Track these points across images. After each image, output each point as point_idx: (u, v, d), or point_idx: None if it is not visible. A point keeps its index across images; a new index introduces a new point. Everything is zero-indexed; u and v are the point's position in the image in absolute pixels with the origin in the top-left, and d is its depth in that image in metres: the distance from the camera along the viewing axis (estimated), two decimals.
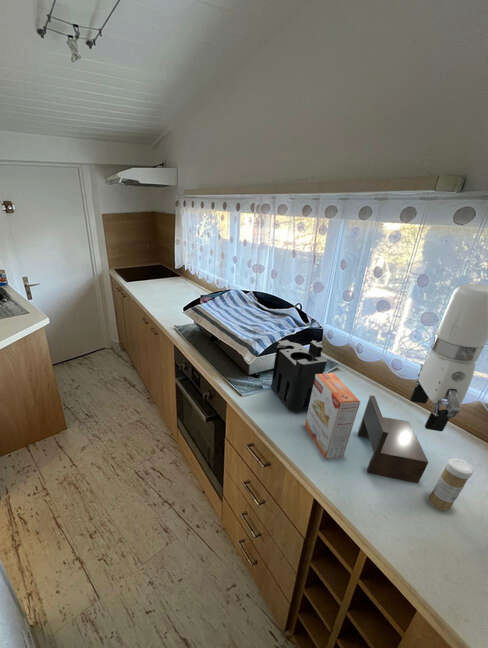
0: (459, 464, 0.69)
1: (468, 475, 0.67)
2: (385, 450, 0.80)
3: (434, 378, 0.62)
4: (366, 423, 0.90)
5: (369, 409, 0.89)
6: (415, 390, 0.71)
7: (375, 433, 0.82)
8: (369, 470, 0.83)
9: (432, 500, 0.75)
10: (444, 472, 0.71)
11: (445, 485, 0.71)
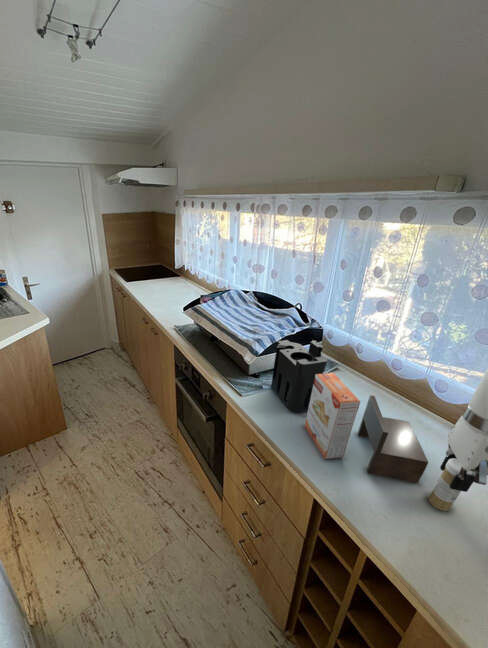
0: (459, 464, 0.69)
1: None
2: (385, 450, 0.80)
3: (466, 447, 0.64)
4: (366, 423, 0.90)
5: (369, 409, 0.89)
6: (446, 460, 0.72)
7: (375, 433, 0.82)
8: (369, 470, 0.83)
9: (432, 500, 0.75)
10: (444, 472, 0.71)
11: (445, 485, 0.71)
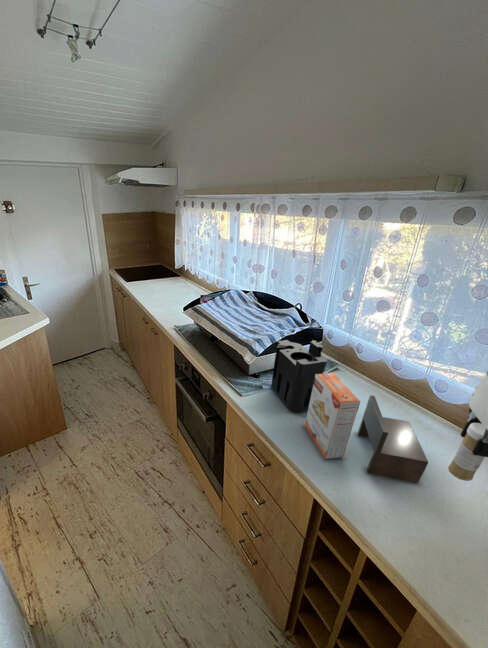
0: (482, 428, 0.64)
1: None
2: (385, 450, 0.80)
3: None
4: (366, 423, 0.90)
5: (369, 409, 0.89)
6: (467, 426, 0.67)
7: (375, 433, 0.82)
8: (369, 470, 0.83)
9: (452, 470, 0.70)
10: (465, 438, 0.66)
11: (466, 452, 0.66)
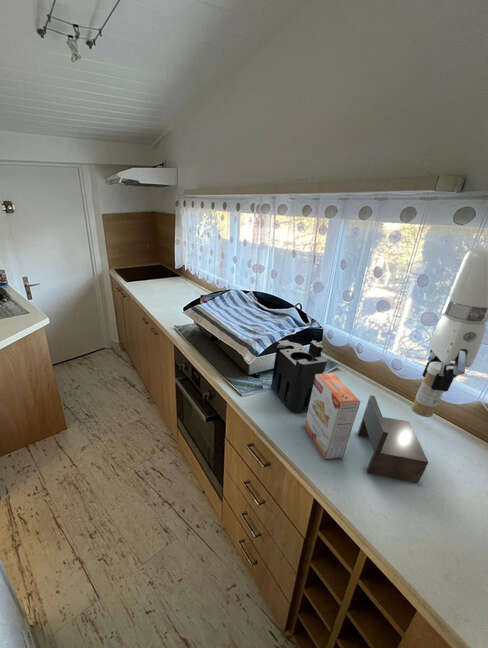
0: (440, 365, 0.70)
1: None
2: (385, 450, 0.80)
3: (446, 341, 0.65)
4: (366, 423, 0.90)
5: (369, 409, 0.89)
6: (427, 365, 0.73)
7: (375, 433, 0.82)
8: (369, 470, 0.83)
9: (415, 408, 0.75)
10: (426, 376, 0.72)
11: (426, 389, 0.72)
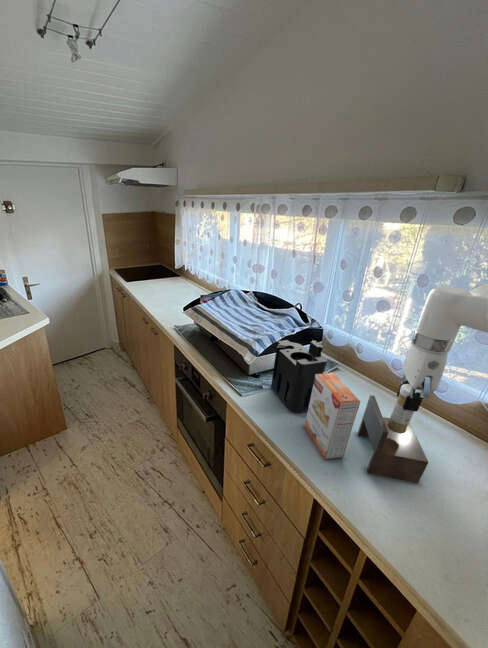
0: None
1: None
2: (385, 450, 0.80)
3: (414, 367, 0.73)
4: (366, 423, 0.90)
5: (369, 409, 0.89)
6: None
7: (375, 433, 0.82)
8: (369, 470, 0.83)
9: (389, 425, 0.83)
10: (398, 396, 0.80)
11: (399, 408, 0.79)
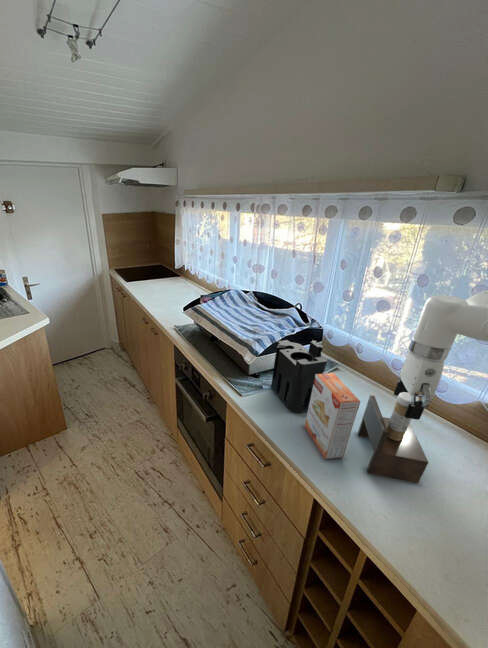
0: (408, 396, 0.79)
1: None
2: (385, 450, 0.80)
3: (411, 374, 0.73)
4: (366, 423, 0.90)
5: (369, 409, 0.89)
6: (397, 385, 0.83)
7: (375, 433, 0.82)
8: (369, 470, 0.83)
9: None
10: (396, 405, 0.81)
11: (396, 416, 0.81)
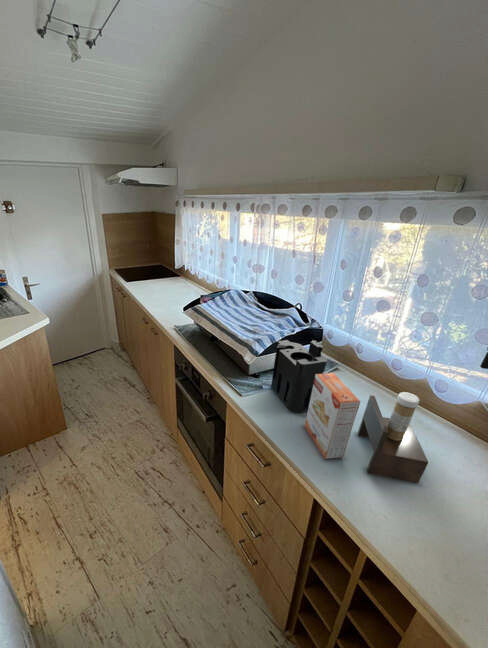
0: (408, 396, 0.79)
1: (414, 404, 0.77)
2: (385, 450, 0.80)
3: None
4: (366, 423, 0.90)
5: (369, 409, 0.89)
6: (487, 356, 0.69)
7: (375, 433, 0.82)
8: (369, 470, 0.83)
9: None
10: (396, 405, 0.81)
11: (396, 416, 0.81)
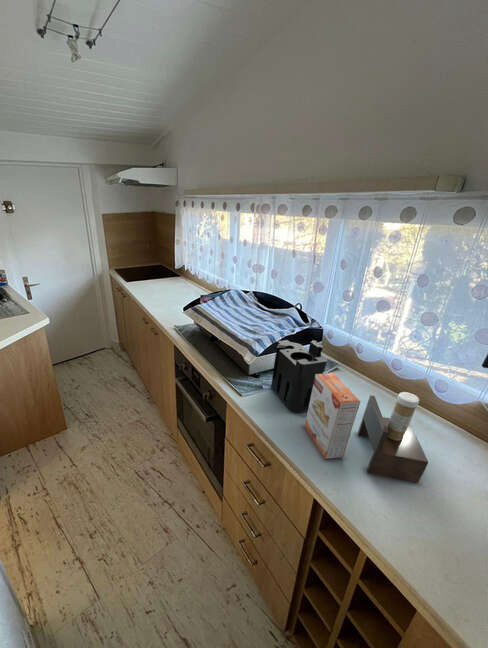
0: (408, 396, 0.79)
1: (414, 404, 0.77)
2: (385, 450, 0.80)
3: None
4: (366, 423, 0.90)
5: (369, 409, 0.89)
6: None
7: (375, 433, 0.82)
8: (369, 470, 0.83)
9: None
10: (396, 405, 0.81)
11: (396, 416, 0.81)
